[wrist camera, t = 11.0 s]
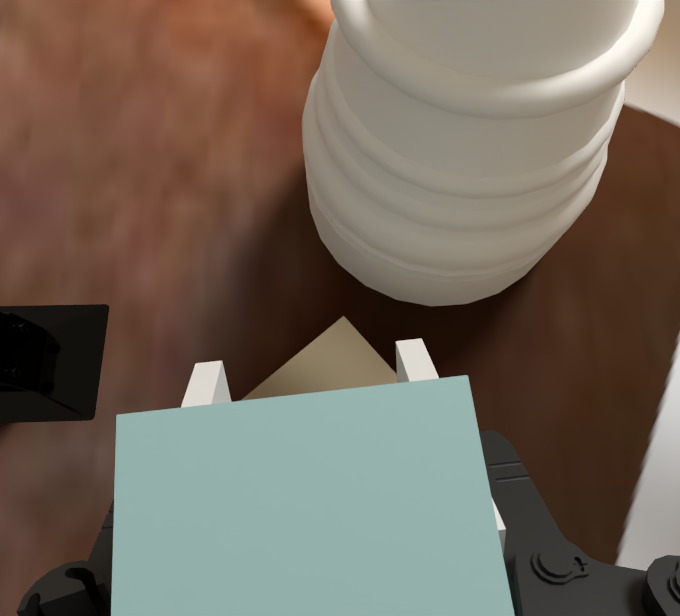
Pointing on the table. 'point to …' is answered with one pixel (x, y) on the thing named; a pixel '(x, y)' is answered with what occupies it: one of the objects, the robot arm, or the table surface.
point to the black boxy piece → (50, 361)
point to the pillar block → (308, 507)
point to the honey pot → (463, 134)
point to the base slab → (328, 366)
